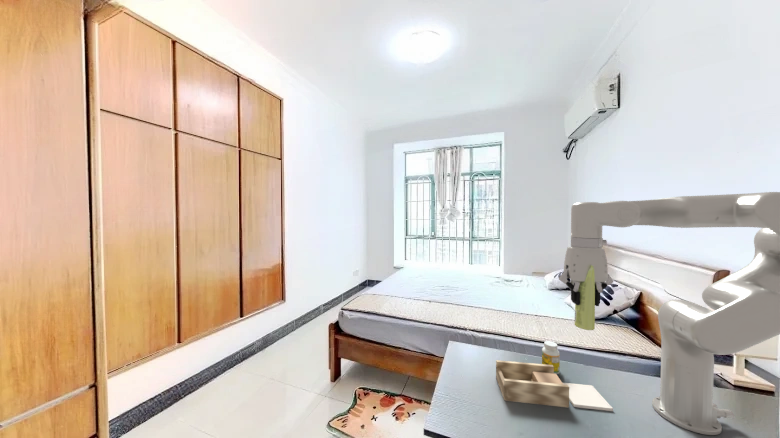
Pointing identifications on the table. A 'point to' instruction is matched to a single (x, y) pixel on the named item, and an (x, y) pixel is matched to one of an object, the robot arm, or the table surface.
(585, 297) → the tube
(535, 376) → the offcut top
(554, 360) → the supplement bottle
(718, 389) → the table surface
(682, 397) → the robot arm
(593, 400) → the tile
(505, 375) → the tray
